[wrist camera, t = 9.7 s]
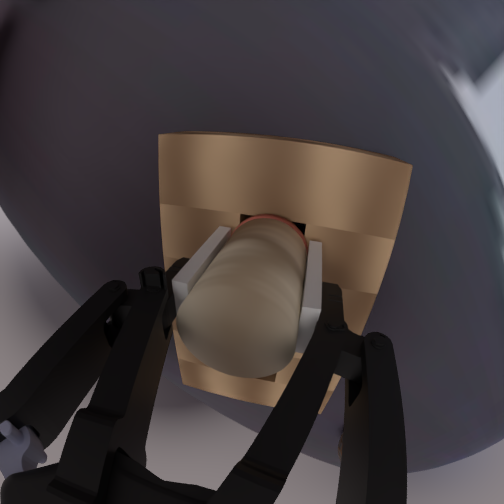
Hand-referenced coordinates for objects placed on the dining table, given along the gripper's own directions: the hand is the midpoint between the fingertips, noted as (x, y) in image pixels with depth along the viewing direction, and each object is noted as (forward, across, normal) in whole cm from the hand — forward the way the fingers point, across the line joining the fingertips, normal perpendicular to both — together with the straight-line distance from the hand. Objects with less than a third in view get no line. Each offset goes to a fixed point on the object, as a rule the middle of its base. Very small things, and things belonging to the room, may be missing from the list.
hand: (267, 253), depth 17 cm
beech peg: (+4, 0, 0) cm, 4 cm away
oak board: (+5, 0, -6) cm, 8 cm away
